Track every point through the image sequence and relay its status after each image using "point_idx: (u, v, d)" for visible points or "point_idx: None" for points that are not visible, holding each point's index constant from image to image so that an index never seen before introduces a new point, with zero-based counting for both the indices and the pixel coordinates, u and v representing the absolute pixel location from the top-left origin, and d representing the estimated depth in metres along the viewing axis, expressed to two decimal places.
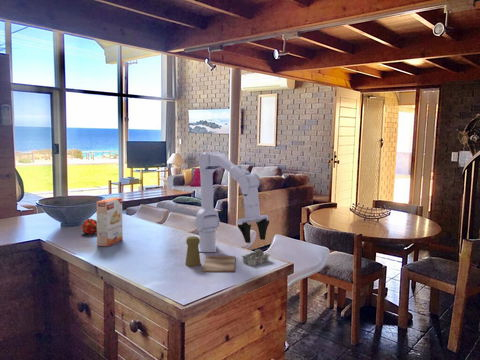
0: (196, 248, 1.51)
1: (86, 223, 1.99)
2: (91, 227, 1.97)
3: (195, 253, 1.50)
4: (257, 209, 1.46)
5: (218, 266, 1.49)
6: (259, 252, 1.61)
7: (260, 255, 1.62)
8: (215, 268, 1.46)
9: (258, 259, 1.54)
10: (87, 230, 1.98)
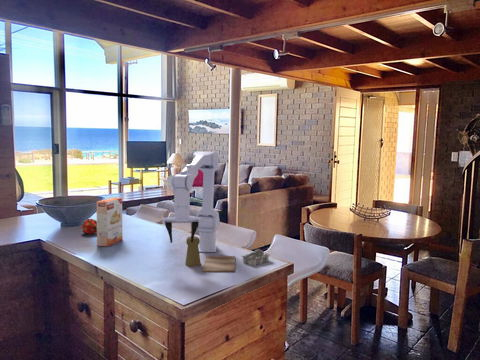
0: (196, 248, 1.51)
1: (86, 223, 1.99)
2: (91, 227, 1.97)
3: (195, 253, 1.50)
4: (182, 211, 1.43)
5: (218, 266, 1.49)
6: (259, 252, 1.61)
7: (260, 255, 1.62)
8: (215, 268, 1.46)
9: (258, 259, 1.54)
10: (87, 230, 1.98)
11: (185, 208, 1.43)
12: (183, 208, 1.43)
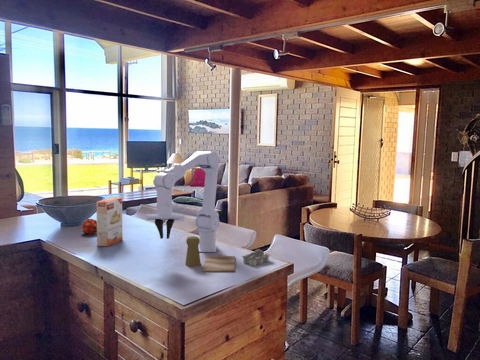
0: (196, 248, 1.51)
1: (86, 223, 1.99)
2: (91, 227, 1.97)
3: (195, 253, 1.50)
4: (163, 209, 1.48)
5: (218, 266, 1.49)
6: (259, 252, 1.61)
7: (260, 255, 1.61)
8: (215, 268, 1.46)
9: (259, 259, 1.54)
10: (87, 230, 1.98)
11: (166, 206, 1.48)
12: (164, 206, 1.48)
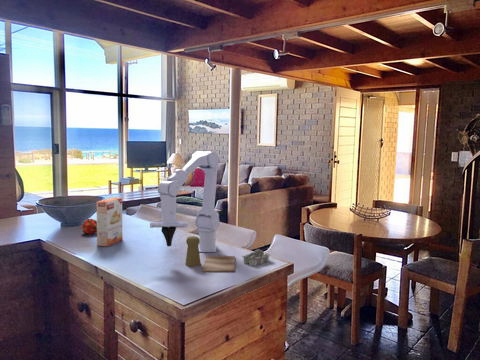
0: (196, 248, 1.51)
1: (86, 223, 1.99)
2: (91, 227, 1.97)
3: (195, 253, 1.50)
4: (167, 216, 1.48)
5: (218, 266, 1.49)
6: (259, 252, 1.61)
7: (260, 255, 1.62)
8: (215, 268, 1.46)
9: (259, 259, 1.54)
10: (87, 230, 1.98)
11: (170, 214, 1.48)
12: (168, 214, 1.48)
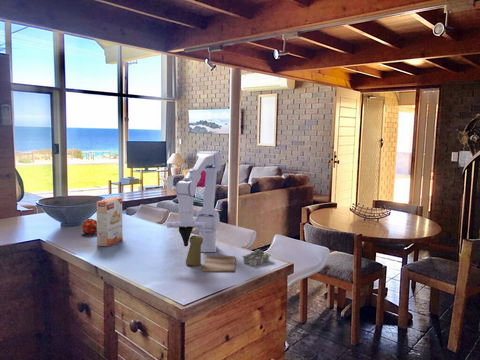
0: (198, 248, 1.51)
1: (86, 223, 1.99)
2: (91, 227, 1.97)
3: (197, 253, 1.50)
4: (185, 216, 1.48)
5: (218, 266, 1.49)
6: (260, 252, 1.61)
7: (261, 255, 1.61)
8: (215, 268, 1.46)
9: (259, 259, 1.54)
10: (87, 230, 1.98)
11: (188, 214, 1.48)
12: (186, 214, 1.48)
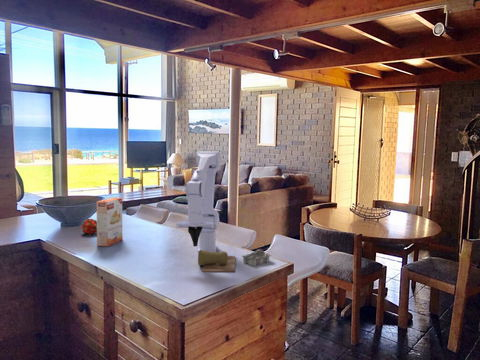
0: (216, 263, 1.50)
1: (86, 223, 1.99)
2: (91, 227, 1.97)
3: None
4: (194, 217, 1.48)
5: (218, 266, 1.49)
6: (260, 252, 1.61)
7: (261, 255, 1.61)
8: (215, 268, 1.46)
9: (258, 259, 1.54)
10: (87, 230, 1.98)
11: (197, 214, 1.48)
12: (195, 214, 1.48)
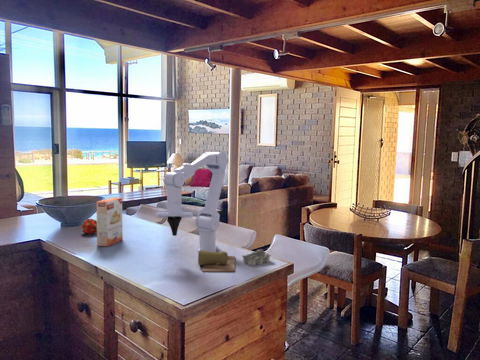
0: (216, 263, 1.50)
1: (86, 223, 1.99)
2: (91, 227, 1.97)
3: (211, 263, 1.50)
4: (173, 206, 1.53)
5: (218, 266, 1.49)
6: (261, 252, 1.61)
7: (262, 255, 1.61)
8: (215, 268, 1.46)
9: (258, 259, 1.54)
10: (87, 230, 1.98)
11: (176, 204, 1.53)
12: (174, 204, 1.53)
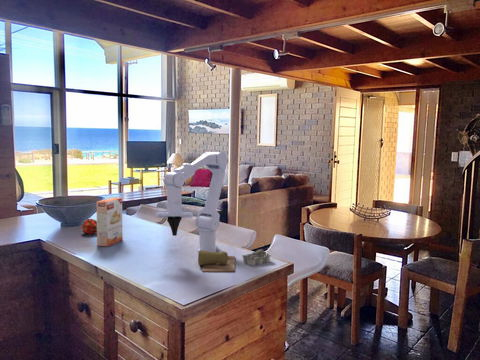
0: (216, 263, 1.50)
1: (86, 223, 1.99)
2: (91, 227, 1.97)
3: (211, 263, 1.50)
4: (173, 206, 1.53)
5: (218, 266, 1.49)
6: (261, 252, 1.61)
7: (262, 255, 1.61)
8: (215, 268, 1.46)
9: (258, 259, 1.54)
10: (87, 230, 1.98)
11: (176, 204, 1.53)
12: (174, 204, 1.53)
